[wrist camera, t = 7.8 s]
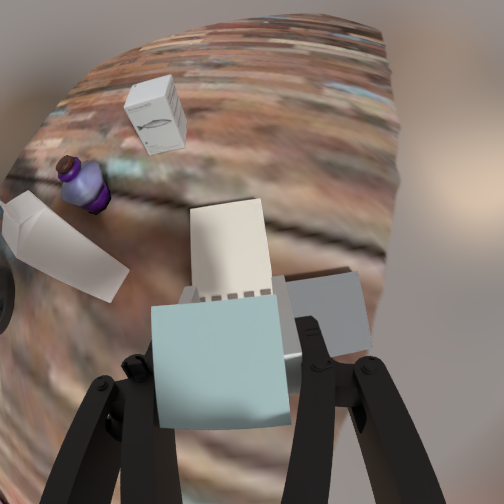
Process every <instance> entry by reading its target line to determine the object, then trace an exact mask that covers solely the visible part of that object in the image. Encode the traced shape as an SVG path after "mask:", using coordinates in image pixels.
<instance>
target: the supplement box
mask: <svg viewBox="0 0 504 504" xmlns="http://www.w3.org/2000/svg"><path fill="white" fill-rule="evenodd" d="M124 109H125V111H126V113H127V115H128V117H129V118H130V120H131V122H132V124H133V126H134V128H135V130H136V132H137V134H138V136H139V137H140V139H141V141H142V143H143V145H144V147H145V149H146V150H147V152H148V154H149V156H151V155H154V154H157V153H162V152H166V151H171V150H176V149H182V148H185V143H186V132H187V121H186V118H185V115H184V112H183V109H182V106H181V103H180V100H179V97H178V94H177V91H176V88H175V85H174V82H173V78H172V75H166V76H163V77H159V78H155V79H152V80H148V81H145V82H142V83H139V84H135V85H133V86H132V88H131V90H130V93H129V95H128V98H127V100H126V103H125V105H124Z"/></svg>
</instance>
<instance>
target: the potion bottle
mask: <svg viewBox="0 0 504 504" xmlns="http://www.w3.org/2000/svg"><path fill="white" fill-rule="evenodd" d="M56 170H57V171H58V178H59V179H60V180H61V181H62V182H64V183H63V185H62V200H64V201H66V202H68V203H70V204H72V205H74V206H78V207H81V208H83V209H85V210H87V211H89V213H91V214H95V215H97V214H98V213H100V212H102V211H103V210H105V209H106V207H107V206H108V204H109V202H110V200H111V194H110V190H108V188H107V186H106V184H105V182H104V174H103V172H102V171H101V169H100V166H99V164H98V162H94V161H85V162H83V163H82V164H81V161H80V160H79V159H78V158H77V157H71V156H68V155H66V156H64V157H63V158H62V159H61V160H60V161H59V162H58V164H57V166H56Z"/></svg>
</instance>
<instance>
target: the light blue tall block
mask: <svg viewBox="0 0 504 504" xmlns="http://www.w3.org/2000/svg"><path fill="white" fill-rule="evenodd" d="M151 320H152V347H153V364H154V377H155V388H156V398H157V407H158V415H159V423H160V428H172V429H192V430H231V429H251V428H264V427H275V426H284V425H291V417H290V407H289V398H288V388H287V379H286V370H285V362H284V353H283V345H282V336H281V328H280V320H279V312H278V304H277V296H276V294H273V295H265V296H257V297H248V298H239V299H230V300H221V301H211V302H200V303H189V304H178V305H165V306H151Z"/></svg>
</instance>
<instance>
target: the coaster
mask: <svg viewBox="0 0 504 504" xmlns="http://www.w3.org/2000/svg"><path fill="white" fill-rule="evenodd" d="M286 286H287V290H288V294H289V299H290V303H291V307H292V311H293V315H294V318H297V317H304V316H310V315H312V316H313V317H314V318H315V319H316V320H317V321H318V323H319V326H320V329H321V332H322V335H323V338H324V341H325V344H326V347H327V350H328V353H329V355H330V357H335V356H340V355H344V354H349V353H353V352H358V351H362V350H366V349H370V348H372V341H371V335H370V329H369V324H368V318H367V313H366V308H365V302H364V298H363V293H362V288H361V284H360V279H359V275H358V271H354V272H348V273H342V274H336V275H330V276H324V277H317V278H311V279H304V280H297V281H290V282H286Z"/></svg>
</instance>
